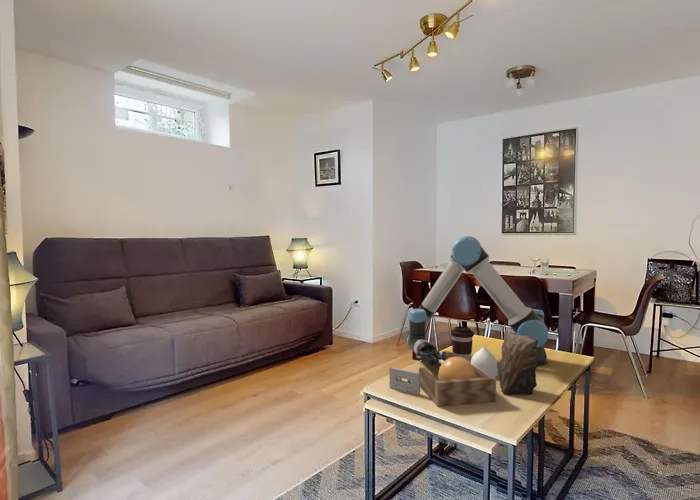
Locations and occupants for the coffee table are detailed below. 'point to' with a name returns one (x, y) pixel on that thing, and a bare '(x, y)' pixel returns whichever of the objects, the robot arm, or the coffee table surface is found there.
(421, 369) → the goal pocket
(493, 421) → the coffee table surface
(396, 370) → the cassette
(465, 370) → the ball
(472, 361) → the teardrop
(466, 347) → the coffee cup
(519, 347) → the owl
